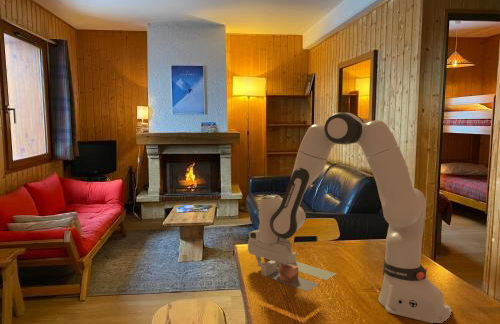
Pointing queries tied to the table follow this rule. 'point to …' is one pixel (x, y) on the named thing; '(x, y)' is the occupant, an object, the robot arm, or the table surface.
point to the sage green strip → (311, 269)
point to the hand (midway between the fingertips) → (269, 269)
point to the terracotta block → (289, 273)
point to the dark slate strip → (270, 272)
